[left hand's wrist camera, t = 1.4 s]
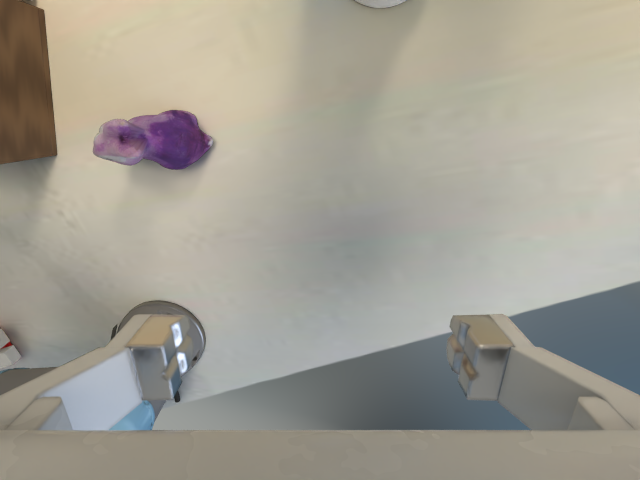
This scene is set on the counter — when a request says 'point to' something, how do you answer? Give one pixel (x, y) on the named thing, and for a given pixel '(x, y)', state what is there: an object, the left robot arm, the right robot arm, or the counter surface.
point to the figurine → (153, 140)
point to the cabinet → (24, 84)
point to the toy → (7, 351)
